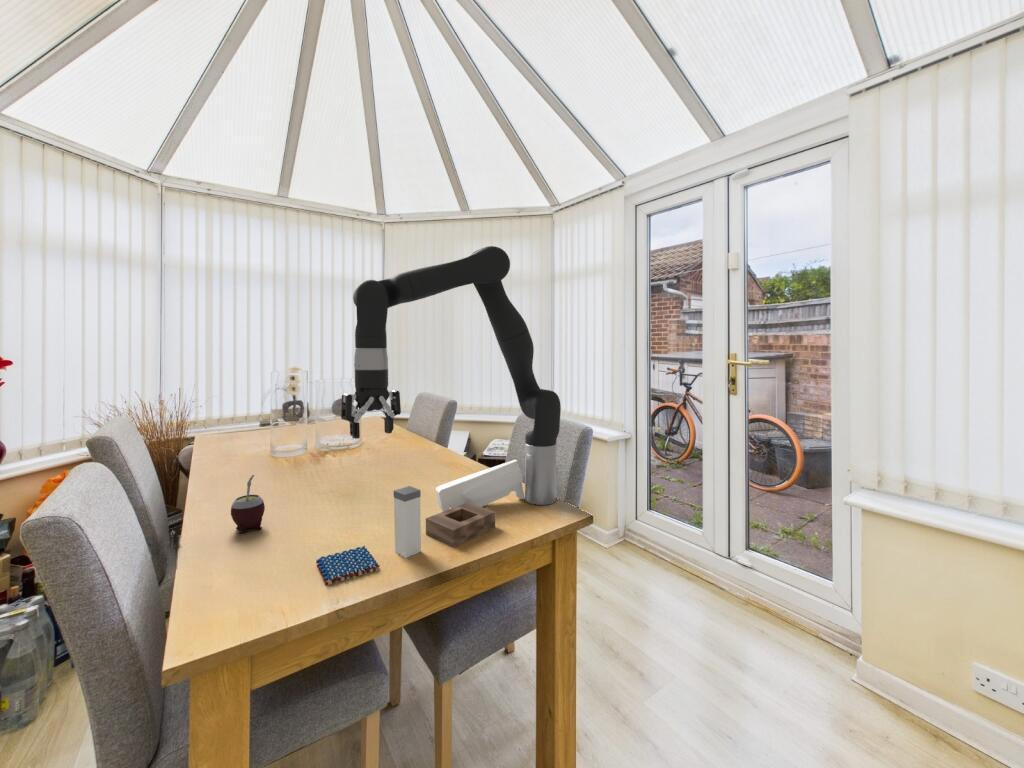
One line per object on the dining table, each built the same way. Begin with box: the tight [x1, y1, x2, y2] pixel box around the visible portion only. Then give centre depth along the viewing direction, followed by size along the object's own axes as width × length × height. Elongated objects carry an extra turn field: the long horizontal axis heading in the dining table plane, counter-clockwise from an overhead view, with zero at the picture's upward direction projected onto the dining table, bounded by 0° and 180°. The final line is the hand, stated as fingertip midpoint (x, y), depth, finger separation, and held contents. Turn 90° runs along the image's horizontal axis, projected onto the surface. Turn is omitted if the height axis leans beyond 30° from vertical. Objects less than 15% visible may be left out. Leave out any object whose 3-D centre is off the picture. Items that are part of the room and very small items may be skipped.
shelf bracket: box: [434, 459, 525, 512], centre depth 119 cm, size 6×25×13 cm, turn 117°
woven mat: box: [315, 545, 380, 586], centre depth 86 cm, size 10×11×2 cm
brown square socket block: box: [425, 503, 496, 548], centre depth 103 cm, size 14×10×4 cm
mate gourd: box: [230, 474, 266, 535], centre depth 103 cm, size 8×8×15 cm
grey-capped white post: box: [393, 485, 422, 559], centre depth 92 cm, size 4×4×14 cm
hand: (372, 435), depth 100 cm, fingers open, 8 cm apart
